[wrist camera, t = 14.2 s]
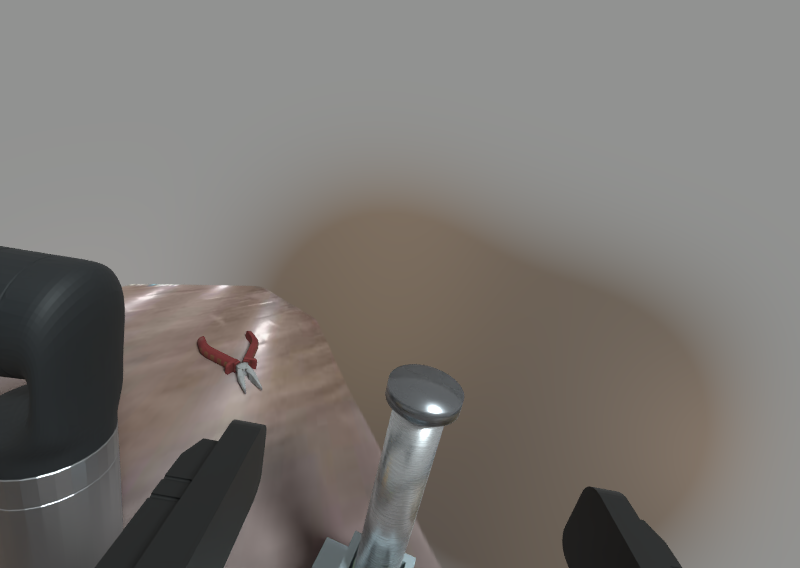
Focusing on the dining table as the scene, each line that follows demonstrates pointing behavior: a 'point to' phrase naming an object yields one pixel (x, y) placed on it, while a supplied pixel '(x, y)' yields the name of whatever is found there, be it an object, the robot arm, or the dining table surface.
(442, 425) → the column
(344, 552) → the stand base
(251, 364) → the pliers
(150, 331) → the dining table surface
